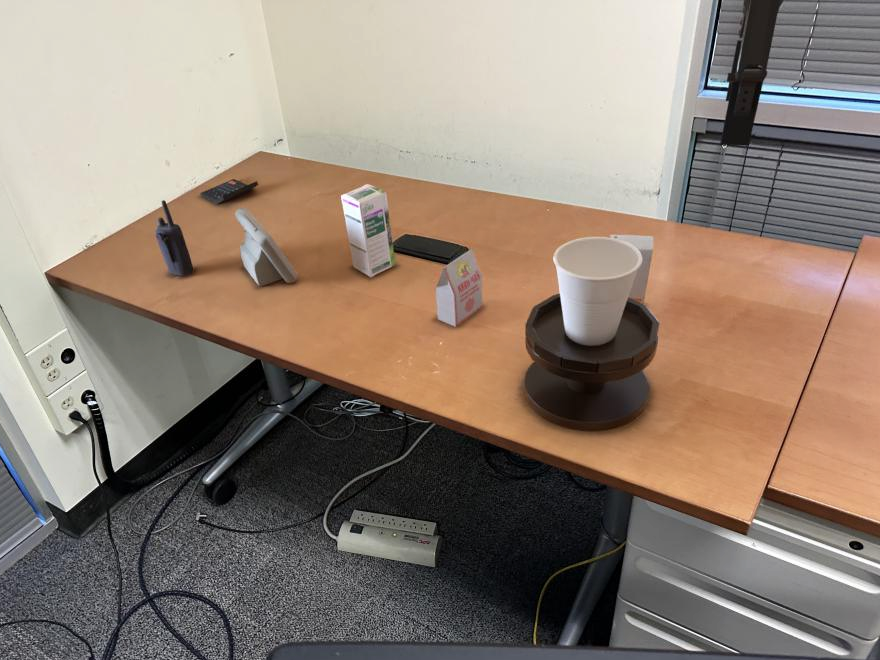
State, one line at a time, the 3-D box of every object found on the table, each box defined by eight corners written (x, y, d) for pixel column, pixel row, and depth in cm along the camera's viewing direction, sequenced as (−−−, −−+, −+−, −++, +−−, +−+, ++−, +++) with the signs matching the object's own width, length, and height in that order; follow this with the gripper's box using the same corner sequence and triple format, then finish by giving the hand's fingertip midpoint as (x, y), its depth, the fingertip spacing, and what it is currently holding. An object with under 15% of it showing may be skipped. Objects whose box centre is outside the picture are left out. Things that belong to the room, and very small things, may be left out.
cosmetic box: (600, 317, 105) (607, 247, 97) (602, 302, 108) (609, 233, 100) (642, 320, 103) (653, 249, 95) (643, 304, 106) (653, 235, 98)
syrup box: (371, 278, 122) (360, 202, 113) (352, 267, 126) (340, 193, 117) (396, 266, 125) (387, 190, 116) (376, 255, 129) (366, 182, 120)
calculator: (234, 182, 166) (231, 170, 164) (260, 193, 158) (257, 181, 156) (201, 196, 161) (197, 184, 160) (226, 208, 154) (223, 196, 152)
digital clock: (300, 285, 124) (289, 232, 117) (251, 297, 123) (237, 244, 116) (286, 246, 136) (275, 196, 130) (241, 257, 135) (228, 206, 128)
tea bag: (437, 319, 110) (433, 264, 104) (464, 300, 113) (462, 246, 107) (455, 326, 108) (452, 271, 101) (482, 307, 111) (481, 252, 105)
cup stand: (654, 363, 95) (666, 296, 88) (639, 442, 84) (651, 372, 77) (538, 347, 101) (541, 283, 94) (511, 418, 90) (511, 351, 83)
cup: (548, 355, 84) (551, 278, 77) (550, 310, 92) (554, 236, 85) (633, 358, 82) (645, 279, 75) (629, 312, 89) (639, 235, 82)
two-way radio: (198, 269, 133) (174, 197, 124) (185, 281, 130) (159, 208, 121) (176, 266, 136) (151, 195, 126) (162, 278, 133) (135, 206, 123)
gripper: (743, -122, 73) (706, 84, 87) (735, -85, 56) (691, 164, 70) (824, -131, 70) (773, 84, 84) (842, -95, 54) (775, 167, 67)
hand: (736, 121), depth 77 cm, fingers open, 13 cm apart
